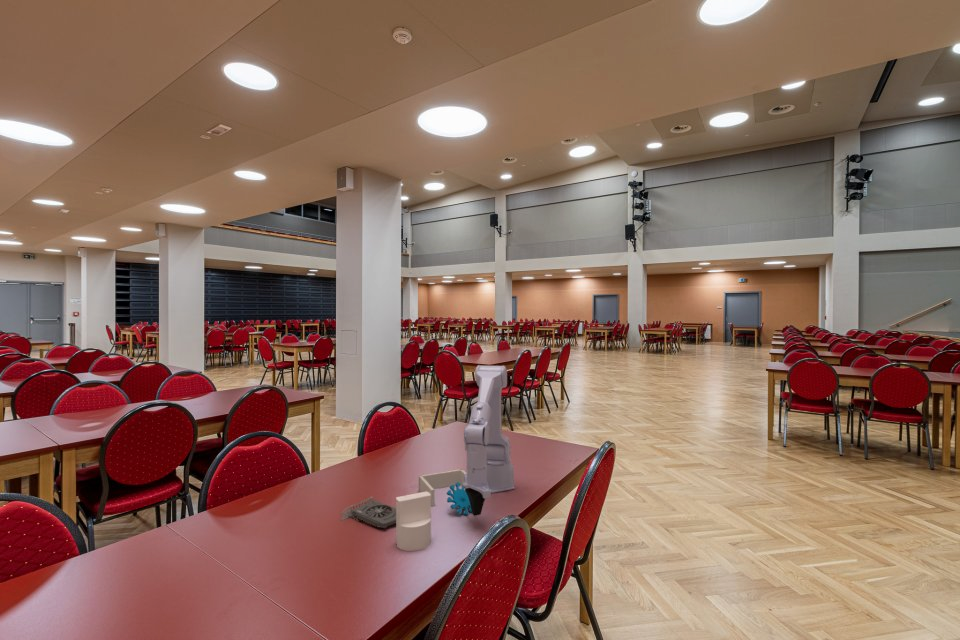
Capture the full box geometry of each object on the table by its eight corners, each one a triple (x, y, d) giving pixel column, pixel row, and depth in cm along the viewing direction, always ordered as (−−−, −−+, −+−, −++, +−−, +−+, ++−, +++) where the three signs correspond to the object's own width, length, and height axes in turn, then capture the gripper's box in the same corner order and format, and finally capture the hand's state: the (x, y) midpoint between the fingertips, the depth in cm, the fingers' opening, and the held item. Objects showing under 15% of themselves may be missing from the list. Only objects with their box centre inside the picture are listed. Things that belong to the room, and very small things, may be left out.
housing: (462, 483, 155) (462, 469, 156) (478, 497, 143) (478, 482, 143) (418, 490, 149) (418, 475, 149) (431, 506, 136) (431, 490, 136)
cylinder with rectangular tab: (402, 554, 108) (402, 506, 108) (392, 538, 116) (391, 493, 116) (436, 545, 112) (435, 499, 112) (423, 530, 120) (423, 487, 120)
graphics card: (338, 509, 127) (371, 495, 137) (339, 522, 127) (371, 506, 137) (376, 526, 117) (409, 509, 127) (377, 539, 117) (409, 522, 127)
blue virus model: (453, 514, 126) (444, 482, 133) (444, 524, 130) (436, 491, 136) (484, 511, 132) (475, 480, 139) (475, 519, 136) (466, 489, 142)
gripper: (454, 461, 129) (454, 506, 129) (473, 476, 116) (473, 528, 116) (476, 457, 132) (476, 502, 132) (497, 472, 119) (497, 522, 119)
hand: (476, 514), depth 124 cm, fingers closed
